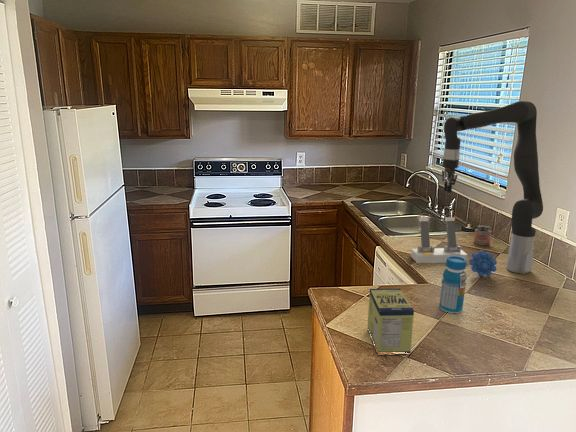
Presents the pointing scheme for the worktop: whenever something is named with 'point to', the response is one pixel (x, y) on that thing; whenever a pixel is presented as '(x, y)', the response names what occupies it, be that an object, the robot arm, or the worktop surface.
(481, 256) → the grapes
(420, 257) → the console
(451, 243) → the lever grey
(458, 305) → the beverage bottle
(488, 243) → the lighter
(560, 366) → the worktop surface
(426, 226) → the lever amber
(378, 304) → the protein box
